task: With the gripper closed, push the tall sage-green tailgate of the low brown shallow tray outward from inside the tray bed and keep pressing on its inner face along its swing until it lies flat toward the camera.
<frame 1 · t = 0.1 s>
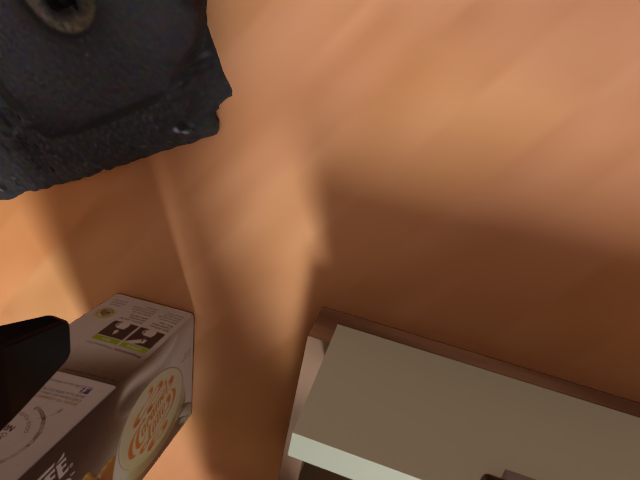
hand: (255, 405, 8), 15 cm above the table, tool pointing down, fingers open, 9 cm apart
brown shallow tray: (513, 456, 24), on the table
coffee box: (156, 355, 29), on the table
tailgate: (584, 462, 17), point 5 cm above the table, hinge at 0.0°
dark slate chunk: (52, 48, 24), on the table
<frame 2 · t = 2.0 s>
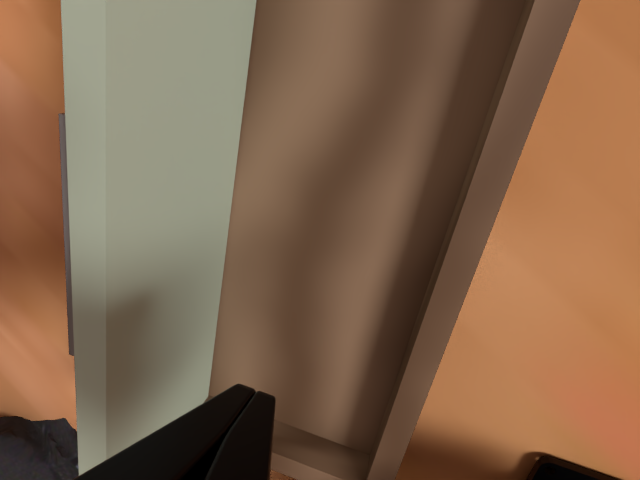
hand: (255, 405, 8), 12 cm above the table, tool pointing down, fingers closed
brown shallow tray: (335, 223, 19), on the table
tailgate: (162, 222, 15), point 5 cm above the table, hinge at 0.0°
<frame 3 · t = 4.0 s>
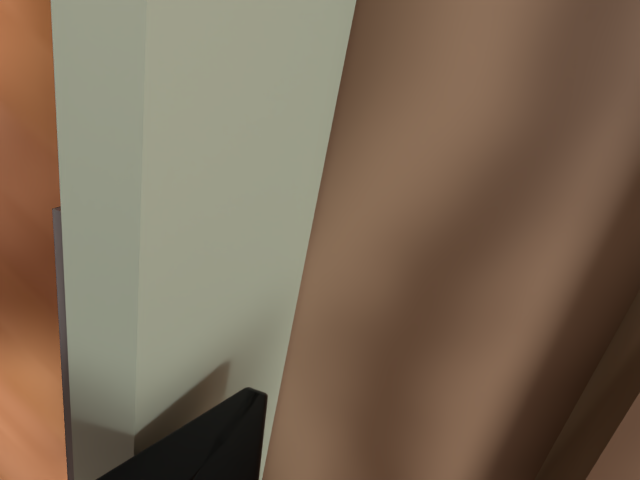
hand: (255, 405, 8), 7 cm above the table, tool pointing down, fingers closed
brown shallow tray: (441, 301, 14), on the table
tailgate: (215, 332, 10), point 5 cm above the table, hinge at 4.0°, touching gripper
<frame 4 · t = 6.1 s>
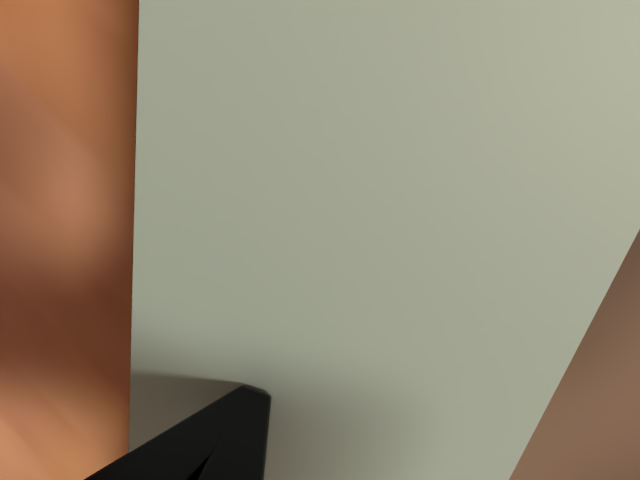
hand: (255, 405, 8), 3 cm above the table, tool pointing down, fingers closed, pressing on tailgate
tailgate: (325, 393, 9), point 2 cm above the table, hinge at 79.2°, touching gripper
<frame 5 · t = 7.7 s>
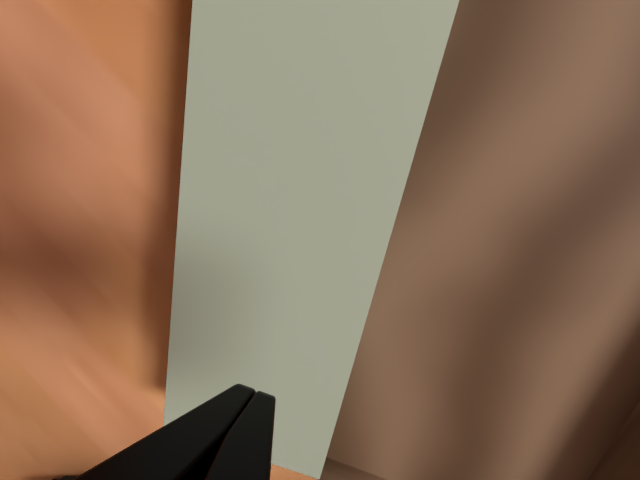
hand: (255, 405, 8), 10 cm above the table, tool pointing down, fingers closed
brown shallow tray: (537, 275, 16), on the table
tailgate: (285, 221, 16), point 2 cm above the table, hinge at 87.3°
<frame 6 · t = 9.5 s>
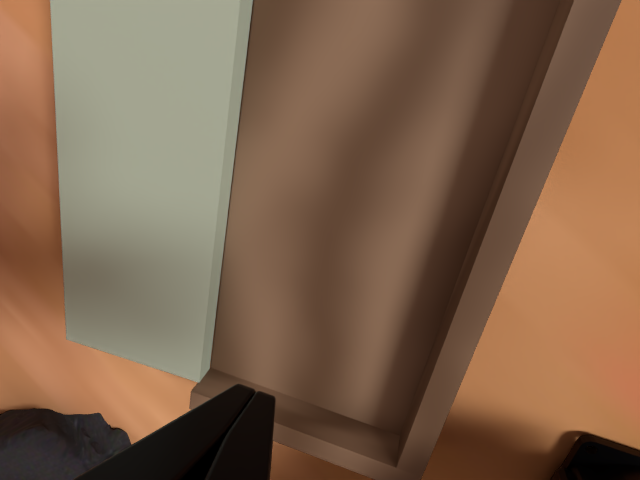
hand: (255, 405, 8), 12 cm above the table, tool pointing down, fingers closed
brown shallow tray: (367, 188, 18), on the table
tailgate: (149, 141, 18), point 2 cm above the table, hinge at 87.3°
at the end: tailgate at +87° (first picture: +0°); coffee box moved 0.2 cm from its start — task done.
